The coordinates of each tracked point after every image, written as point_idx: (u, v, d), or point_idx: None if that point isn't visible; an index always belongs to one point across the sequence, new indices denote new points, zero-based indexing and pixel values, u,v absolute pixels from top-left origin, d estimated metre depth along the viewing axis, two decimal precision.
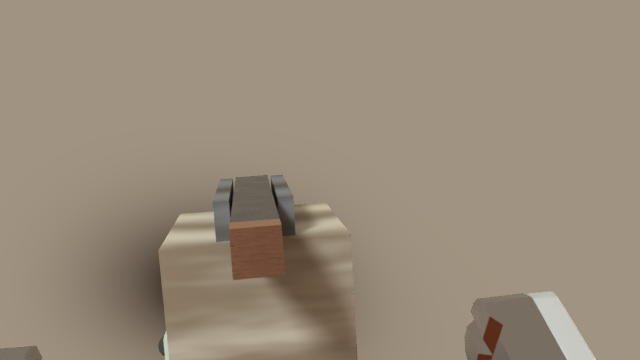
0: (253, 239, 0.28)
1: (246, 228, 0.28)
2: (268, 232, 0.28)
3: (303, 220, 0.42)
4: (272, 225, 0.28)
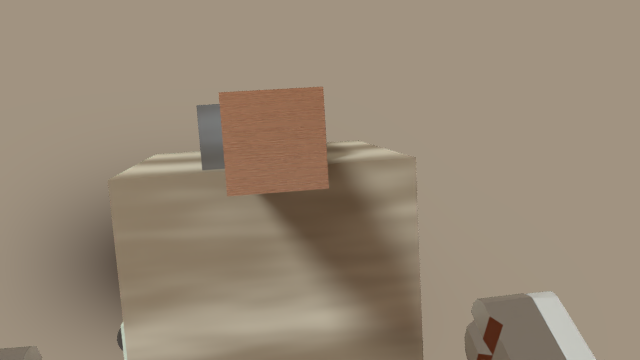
0: (267, 115, 0.14)
1: (254, 92, 0.14)
2: (297, 101, 0.14)
3: (333, 151, 0.28)
4: (305, 88, 0.14)
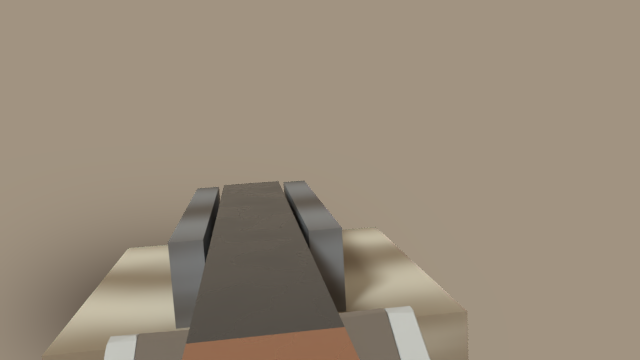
0: None
1: None
2: None
3: (350, 268, 0.22)
4: None
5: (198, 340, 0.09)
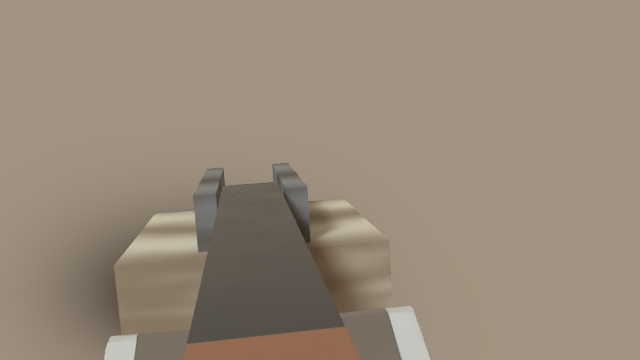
0: None
1: None
2: None
3: (318, 221, 0.31)
4: None
5: (199, 340, 0.09)
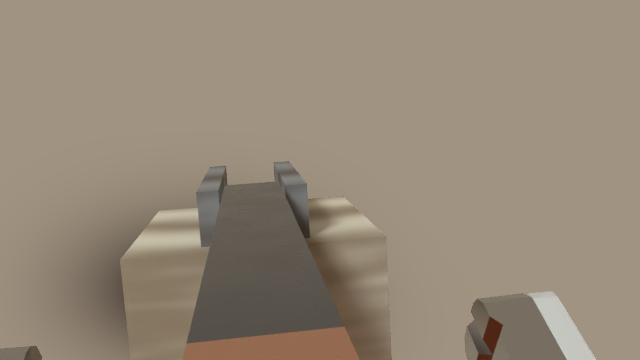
0: None
1: None
2: None
3: (318, 218, 0.32)
4: None
5: (199, 340, 0.09)
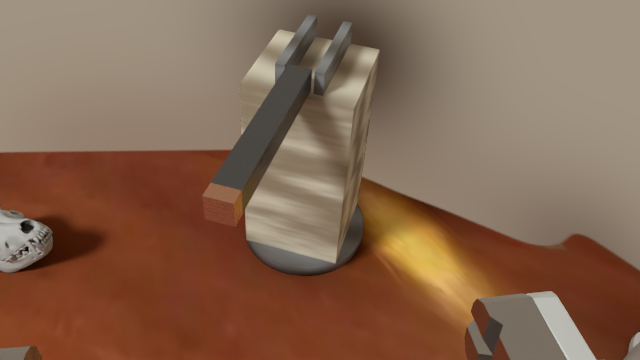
0: (216, 205, 0.43)
1: (212, 198, 0.43)
2: (225, 204, 0.43)
3: (343, 75, 0.61)
4: (228, 202, 0.43)
5: (213, 182, 0.44)
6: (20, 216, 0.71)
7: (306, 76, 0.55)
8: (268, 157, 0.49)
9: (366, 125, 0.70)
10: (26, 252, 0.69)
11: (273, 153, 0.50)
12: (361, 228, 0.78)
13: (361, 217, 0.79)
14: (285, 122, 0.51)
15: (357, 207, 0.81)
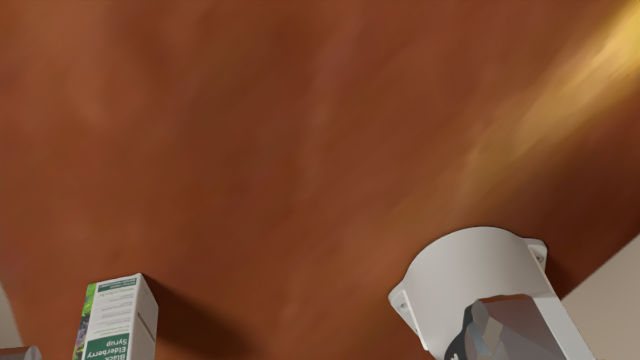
0: None
1: None
2: None
3: None
4: None
5: None
6: None
7: None
8: None
9: None
10: None
11: None
12: None
13: None
14: None
15: None
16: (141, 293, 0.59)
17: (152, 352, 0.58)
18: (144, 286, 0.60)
